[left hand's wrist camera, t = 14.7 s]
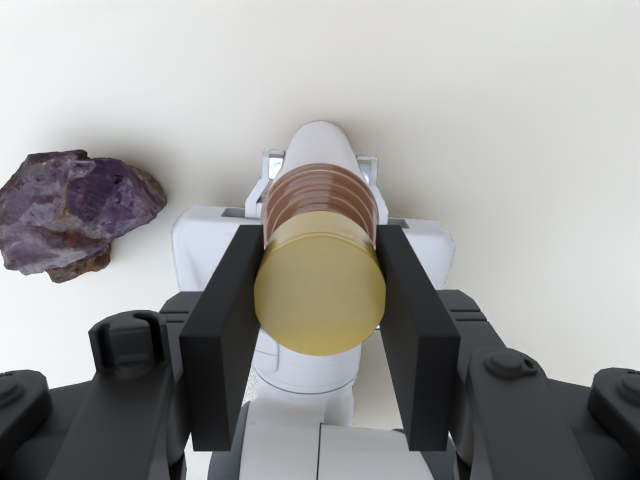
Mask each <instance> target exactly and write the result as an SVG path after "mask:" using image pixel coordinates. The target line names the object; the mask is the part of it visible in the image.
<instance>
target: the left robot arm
mask: <svg viewBox="0 0 640 480" xmlns="http://www.w3.org/2000/svg"><path fill="white" fill-rule="evenodd" d="M264 251H265V249H264V228H263V225H240V226H239V227H238V229H237V231H236V233H235V235H234V237H233V238H232V240H231V242H230V244H229V246H228V247H227V249H226V251H225V253H224V255H223V257H222V258H221V260H220V262H219V264H218V266H217V268H216V269H215V271H214V273H213V275H212V277H211V278H210V280H209V282H208V284H207V286H206V288H205V289H204V291H181V292H179V293H178V294H176V295H175V296H173V297H172V298H170V299H169V300H167V301H166V303H165V304H164V306H163V307H162V308H161V310H160V311H159V313H158V312H154V311H150V310H133V311H127V312H121V313H118V314H115V315H112V316H110V317H107V318H105V319H103V320H102V321H100V322H98V323H96V324H95V325H94V326H93V327H92V328H91V329H90V330H89V331H88V334H89V338H90V343H91V348H92V352H93V357H94V362H95V367H96V373H95V375H94V377H93V379H92V380H91V381H87V382H83V383H79V384H74V385H69V386H64V387H59V388H54V389H49V387H48V384H47V380H46V377H45V376H44V375H43V374H42V373H40V372H38V371H33V370H17V371H9V372H5V373H1V374H0V480H186V471H187V468H186V460H185V453H184V449H185V446H186V443H187V441H188V438H189V435H190V432H191V436H192V443H193V451H231V447H232V443H233V439H234V435H235V431H236V426H237V422H238V418H239V414H240V410H241V406H242V401H243V397H244V393H245V389H246V385H247V381H248V376H249V372H250V368H251V364H252V360H253V355H254V351H255V347H256V343H257V339H258V335H259V330H260V326H261V324H260V322H259V320H258V318H257V315H256V313H255V302H254V282H255V279H256V276H257V272H258V269H259V266H260V263H261V260H262V257H263V254H264ZM375 252H376V255H377V258H378V261H379V264H380V267H381V270H382V273H383V276H384V279H385V283H386V296H385V312H384V315H383V318H382V320H381V322H380V323H379V327H380V332H381V336H382V340H383V344H384V348H385V352H386V357H387V361H388V365H389V369H390V373H391V378H392V382H393V386H394V390H395V394H396V398H397V403H398V407H399V411H400V415H401V419H402V423H403V428H404V432H405V436H406V440H407V444H408V449H409V451H446V449H447V441H448V433H449V431H450V434H451V436H452V439H453V442H454V445H455V447H456V453H455V460H454V467H453V475H452V480H640V371H635V370H632V369H624V368H607V369H602V370H600V371H599V372H597V373H596V374H595V375H594V378H593V382H592V386H591V387H586V386H581V385H576V384H571V383H566V382H561V381H557V380H553V379H549V378H547V377H546V374H545V372H544V370H543V369H542V368H541V366H540V365H539V364H538V363H537V362H536V361H535V360H533V359H532V358H530V357H529V356H528V355H526V354H524V353H521V352H519V351H516V350H514V349H510V348H507V347H506V346H505V344H504V343H503V342H502V340H501V339H500V337H499V336H498V334H497V333H496V332H495V330H494V329H493V327H492V326H491V324H490V323H489V321H487V319H486V317H485V316H484V314H483V313H482V312H481V310H480V309H479V307H478V306H477V304H476V303H475V301H474V300H473V299H472V298H470V297H469V296H467V295H466V294H464V293H463V292H461V291H460V290H435V288H434V286H433V285H432V283H431V281H430V279H429V277H428V275H427V274H426V272H425V270H424V268H423V266H422V264H421V263H420V261H419V259H418V257H417V255H416V253H415V252H414V250H413V248H412V246H411V244H410V243H409V241H408V239H407V237H406V235H405V233H404V232H403V230H402V228H401V226H400V225H376V243H375Z"/></svg>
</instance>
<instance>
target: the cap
mask: <svg viewBox="0 0 640 480" xmlns="http://www.w3.org/2000/svg"><path fill="white" fill-rule="evenodd" d="M385 296H386V283H385V279H384V276H383V273H382V270H381V267H380V264H379V261H378V258H377V255H376V252H375V249H374V246H373V244H372V241H371V240H370V238H369V236H368V235H367V233H366V232H365V231H364V230H363V229H362V228H361V227H360V226H359V225H358V224H357V223H355V222H354V221H353V220H351V219H349V218H347V217H345V216H343V215H340V214H337V213H333V212H327V211H312V212H306V213H303V214H299V215H297V216H295V217H292V218H291V219H289V220H287V221H286V222H284V223H283V224H282V225H280V226H279V227H278V228H277V229H276V230H275V232H274V233H273V234H272V236H271V237H270V239H269V241H268V243H267V245H266V248H265V251H264V254H263V257H262V260H261V263H260V266H259V269H258V272H257V276H256V279H255V282H254V302H255V313H256V315H257V318H258V320H259V322H260V324H261V326H262V327H263V328H264V330H265V331H266V332H267V333H268V334H269V336H270V337H271V338H273V339H274V340H275V341H276V342H277V343H279V344H280V345H282V346H284V347H285V348H287V349H290V350H292V351H294V352H297V353H300V354H305V355H312V356H328V355H335V354H339V353H342V352H345V351H348V350H350V349H352V348H354V347H356V346H358V345H359V344H361V343H362V342H364V341H365V340H366V339H367V338H368V337H369V336H370V335H371V334H372V333H373V332H374V331H375V329H376V328H377V327H378V325H379V323H380V322H381V320H382V318H383V315H384V312H385Z"/></svg>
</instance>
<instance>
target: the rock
mask: <svg viewBox="0 0 640 480" xmlns="http://www.w3.org/2000/svg"><path fill="white" fill-rule="evenodd" d="M166 204H167V198H166V196H165V195H164V193H163V190H162V188H161V186H160V185H159V183H158V182H157V181H156V180H154V179H153V177H152V176H151V175H150V174H148V173H145V172H142V171H141V170H140V169H137V168H135V167H132V166H129V165H126V164H125V163H123V162H122V161H120V160H117V159H112V158H93V159H90V158H89V157H87V152H86V151H84V150H73V151H65V152H48V153H37V154H29V155H28V156H27V158H26V160H25V161H24V162H23V163H22V164H21V165H20V167H19V169H18V170H17V171H16V173H15V174H13V175H12V177H11V179H10V180H8V182H7V183H6V184H5V185H4V186H3V187H2V188H1V189H0V250H1V253H2V256H3V258H4V267H5V268H6V269H9V270H19V271H20V272H21V273H22V274H24V275H25V276H26V275H30V274H35V273H42V272H44V271H46V272H47V273H48V274H49V276H50V278H51V280H52V282H55V283H62V282H65V281H69V280H71V279H74V278H76V277H78V276H79V275H82V274H84V273H86V272H89V271H95V272H97V271H100V270H101V269H104V268H106V267H107V265H108V264H109V263H110V249H111V245H110V242H111V241H112V240H114V239H115V238H118V237H121V236H123V235H125V234H126V233H128V232H130V231H131V230H133V229H135V228H137V227H138V226H142V225H144V224H148V223H149V222H150V221H152V220H153V219H155V218H156V216H157V213H159V212H160V211H161V210H162V209H163V207H165V205H166Z"/></svg>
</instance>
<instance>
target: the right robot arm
mask: <svg viewBox="0 0 640 480" xmlns="http://www.w3.org/2000/svg"><path fill="white" fill-rule="evenodd" d="M284 155H285V151H284V150H271V149H264V151H263V154H262V175H261V177H260V178H259V180H258V182H257V183H256V185H255V186H254V188H253V190H252V191H251V193H250V195H249V196H248V198H247V199H246V201H245V208H241V207H225V206H209V205H192V206H190V207H189V208H188V209H187V210H186V211H184V212H183V213H182V214H181V215H180V216H179V217H178V219H177V220H176V221H175V223H174V225H173V227H172V249H173V258H174V265H175V271H176V276H177V281H178V286H179V290H180V292H181V291H204V289H205V288H206V286H207V284H208V282H209V280H210V278H211V277H212V275H213V273H214V271H215V269H216V268H217V266H218V264H219V262H220V260H221V258H222V257H223V255H224V253H225V251H226V249H227V247H228V246H229V244H230V242H231V240H232V238H233V237H234V235H235V233H236V231H237V229H238V227H239V226H240V225H261V224H260V216H261V209H262V204H263V202H264V199H265V196H263V195H262V196H261V194H262V193H263V191H264V189H265V188H266V186H267V185H268V183H269V181H270V180H271V179H274V177H275V175H276V173H277V171H278V168H279V166H280V164H281V162H282V160H283V158H284ZM356 158H357V161H358V163H359V165H360V167H361V169H362V171H363V173H364V176H365V178H366V180H367V182H368V184H369V186H370V188H371V191H372V193H373V195H374V197H375V200H376V202H377V206H378V210H379V225H400V226H401V228H402V230H403V232H404V233H405V235H406V237H407V239H408V241H409V243H410V244H411V246H412V248H413V250H414V252H415V253H416V255H417V257H418V259H419V261H420V263H421V264H422V266H423V268H424V270H425V272H426V274H427V275H428V277H429V279H430V281H431V283H432V285H433V286H434V288H435V290H443V288H444V286H445V283H446V280H447V277H448V274H449V270H450V267H451V263H452V259H453V255H454V250H455V244H454V241H453V239H452V237H451V236H450V234H449V233H448V231H447V230H446V229H445V228H444V227H443V226H442V225H441V224H440V223H439V222H438V221H436V220H425V219H410V218H395V217H388V214H389V210H388V208H387V206H386V204H385V201H384V199H383V197H382V195H381V192H380V190H379V188H378V186H377V184H376V181H377V172H378V158H377V157H375V156H358V155H356ZM260 196H261V197H260ZM264 249H265V245H264ZM374 249H375V247H374ZM374 332H380V327H379V325H378V327H377V328H376V329H375V331H374ZM361 349H362V343H361V344H359V345H358V346H356V347H354V348H352V349H350V350H348V351H345V352H342V353H339V354H335V355H328V356H312V355H305V354H300V353H297V352H294V351H292V350H290V349H287V348H285V347H284V346H282V345H280V344H279V343H277V342H276V341H275V340H274V339H273V338H271V337H270V336H269V334H268V333H267V332H266V331H265V330H264V328H263V327H262V326H260V330H259V335H258V339H257V343H256V347H255V351H254V355H253V360H252V364H251V366H253V368H254V371H255V375H256V379H257V385H256V388H255V390H254V393H253V398H252V401H251V402H250V401H248V402H247V403H245V404H244V405H243V406H242V407H241V410H240V414H239V418H238V422H237V426H236V431H235V435H234V439H233V443H232V447H231V451H213V452H212V456H211V460H210V465H209V470H208V478H207V480H452V475H453V467H454V460H455V453H456V447H455V445H454V442H453V439H451V438H450V437H449V436H448V441H447V449H446V451H409V449H408V444H407V440H406V436H405V432H404V429H393V430H381V429H370V428H358V427H352V423H353V416H354V398H353V394H352V386H353V384H354V382H355V380H356V378H357V375H358V371H359V365H360V357H361Z"/></svg>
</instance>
